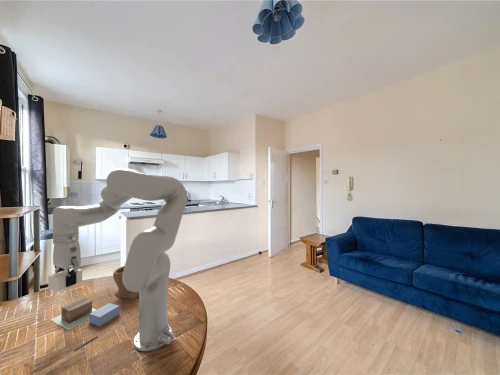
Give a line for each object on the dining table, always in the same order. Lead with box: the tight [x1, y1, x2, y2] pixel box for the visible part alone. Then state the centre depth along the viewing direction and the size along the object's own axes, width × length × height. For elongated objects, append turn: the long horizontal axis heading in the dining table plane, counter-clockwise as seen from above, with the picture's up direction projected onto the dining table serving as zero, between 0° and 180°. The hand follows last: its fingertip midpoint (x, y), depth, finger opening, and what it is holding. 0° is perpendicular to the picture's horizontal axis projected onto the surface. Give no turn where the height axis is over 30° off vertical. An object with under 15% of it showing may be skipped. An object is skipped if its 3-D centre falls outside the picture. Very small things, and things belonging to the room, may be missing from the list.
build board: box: [50, 307, 97, 331], centre depth 86 cm, size 14×12×1 cm
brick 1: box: [47, 268, 83, 292], centre depth 80 cm, size 6×8×5 cm
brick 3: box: [88, 302, 120, 327], centre depth 84 cm, size 6×8×5 cm
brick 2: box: [60, 297, 93, 324], centre depth 86 cm, size 6×8×5 cm
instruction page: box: [73, 336, 99, 352], centre depth 74 cm, size 9×7×1 cm
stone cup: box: [112, 265, 140, 300], centre depth 103 cm, size 15×12×15 cm
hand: (65, 283), depth 80 cm, fingers closed on brick 1, 6 cm apart
